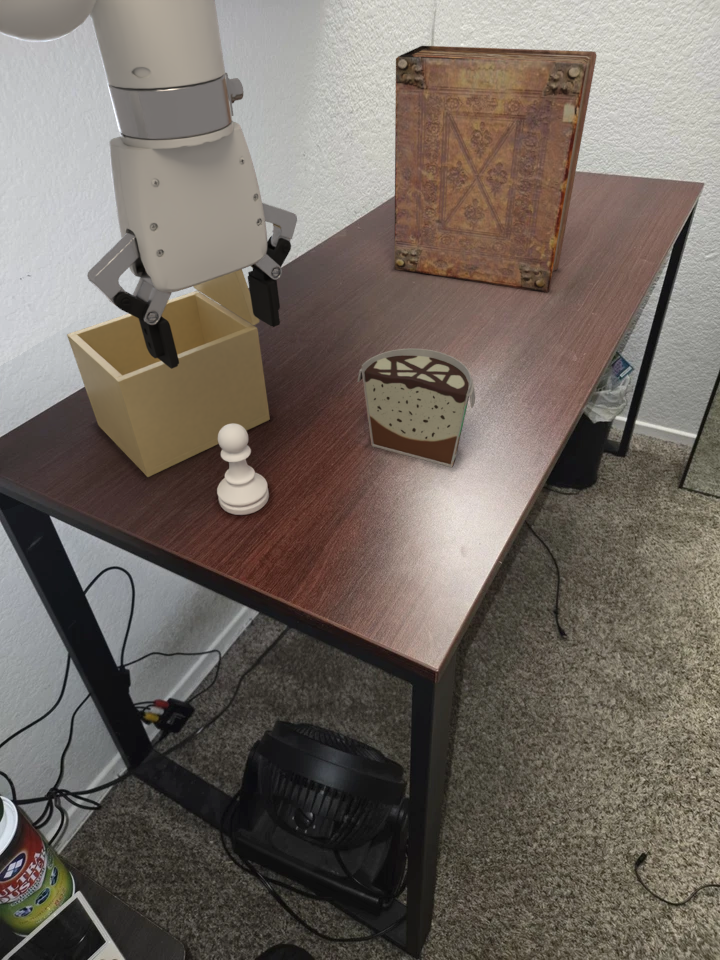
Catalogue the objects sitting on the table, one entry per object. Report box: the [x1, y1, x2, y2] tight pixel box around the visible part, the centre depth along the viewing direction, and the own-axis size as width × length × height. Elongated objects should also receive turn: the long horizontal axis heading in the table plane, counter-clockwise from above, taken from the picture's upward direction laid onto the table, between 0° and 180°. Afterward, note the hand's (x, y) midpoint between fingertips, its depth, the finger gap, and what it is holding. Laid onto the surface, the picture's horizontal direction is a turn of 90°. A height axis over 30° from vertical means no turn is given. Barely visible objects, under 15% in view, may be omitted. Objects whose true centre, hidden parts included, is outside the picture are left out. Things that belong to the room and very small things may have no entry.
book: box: [393, 45, 598, 294], centre depth 98 cm, size 25×9×30 cm, turn 67°
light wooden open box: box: [66, 290, 271, 478], centre depth 73 cm, size 16×13×12 cm
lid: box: [192, 269, 261, 326], centre depth 67 cm, size 16×13×5 cm
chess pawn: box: [216, 423, 270, 516], centre depth 63 cm, size 5×5×9 cm
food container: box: [357, 348, 476, 468], centre depth 70 cm, size 12×6×10 cm, turn 65°
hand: (218, 340), depth 55 cm, fingers open, 9 cm apart
